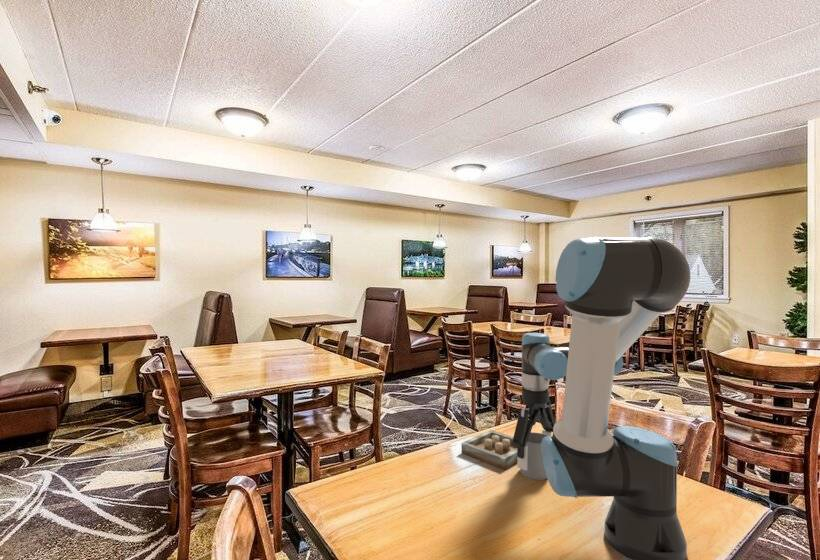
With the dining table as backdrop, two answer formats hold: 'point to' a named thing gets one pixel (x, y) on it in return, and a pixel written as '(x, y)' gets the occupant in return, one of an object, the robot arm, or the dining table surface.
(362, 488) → the dining table surface
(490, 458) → the grey square tray
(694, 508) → the dining table surface
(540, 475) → the cup
